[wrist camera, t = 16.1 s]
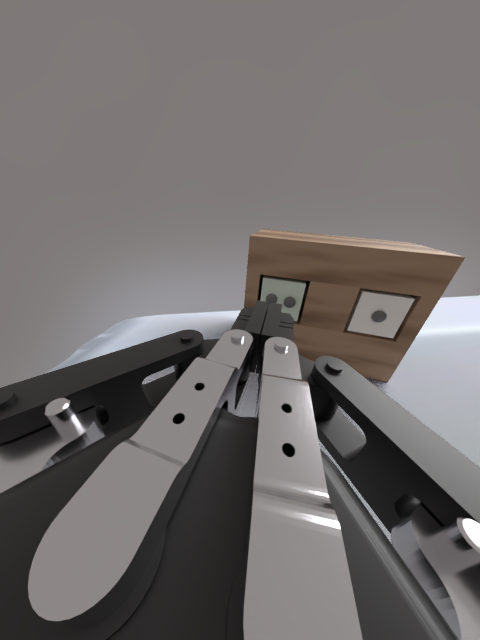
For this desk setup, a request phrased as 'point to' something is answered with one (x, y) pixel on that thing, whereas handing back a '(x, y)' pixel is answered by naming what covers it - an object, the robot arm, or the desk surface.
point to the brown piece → (350, 291)
